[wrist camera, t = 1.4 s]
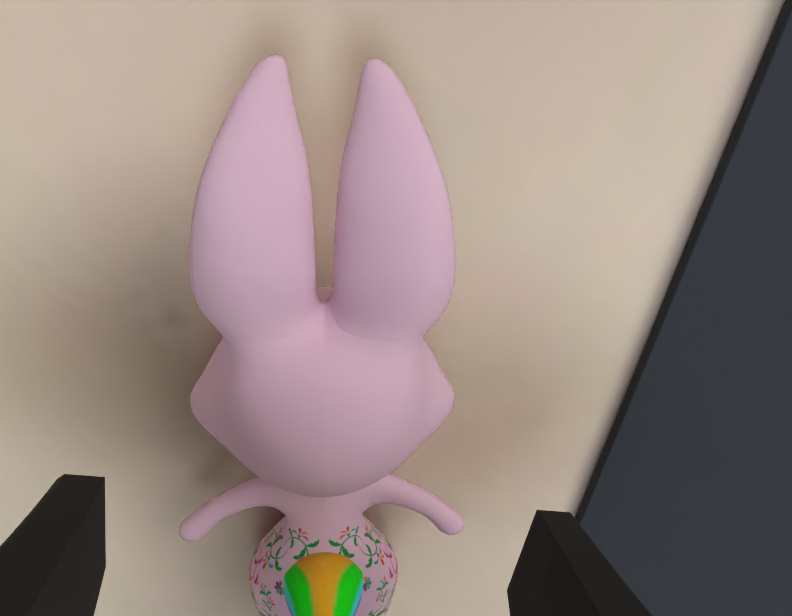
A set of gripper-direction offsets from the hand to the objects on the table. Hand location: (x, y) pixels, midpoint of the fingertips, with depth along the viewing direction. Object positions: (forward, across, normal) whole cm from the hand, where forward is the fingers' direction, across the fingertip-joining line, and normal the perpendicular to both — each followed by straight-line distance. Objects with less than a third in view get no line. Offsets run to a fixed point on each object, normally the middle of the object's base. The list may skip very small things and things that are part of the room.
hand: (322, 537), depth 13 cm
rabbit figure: (+5, 0, 0) cm, 5 cm away
